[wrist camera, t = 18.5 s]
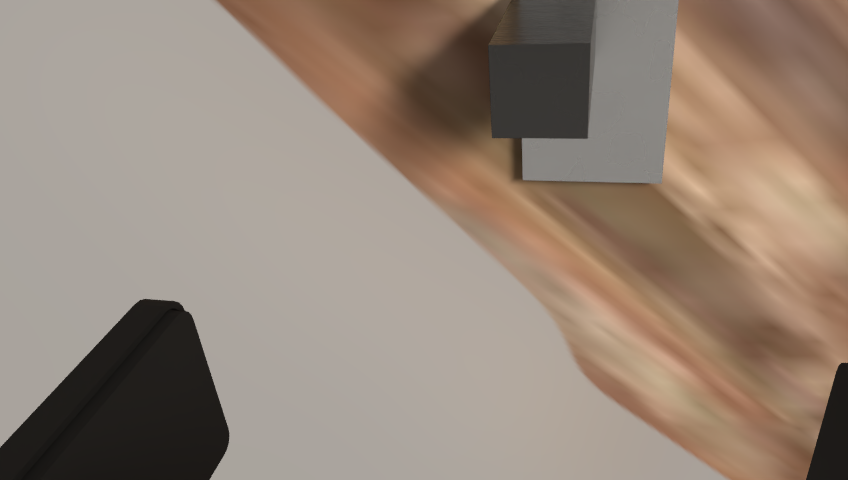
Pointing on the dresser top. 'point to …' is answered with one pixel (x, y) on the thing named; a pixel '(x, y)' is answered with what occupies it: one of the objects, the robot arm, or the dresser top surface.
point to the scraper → (584, 87)
